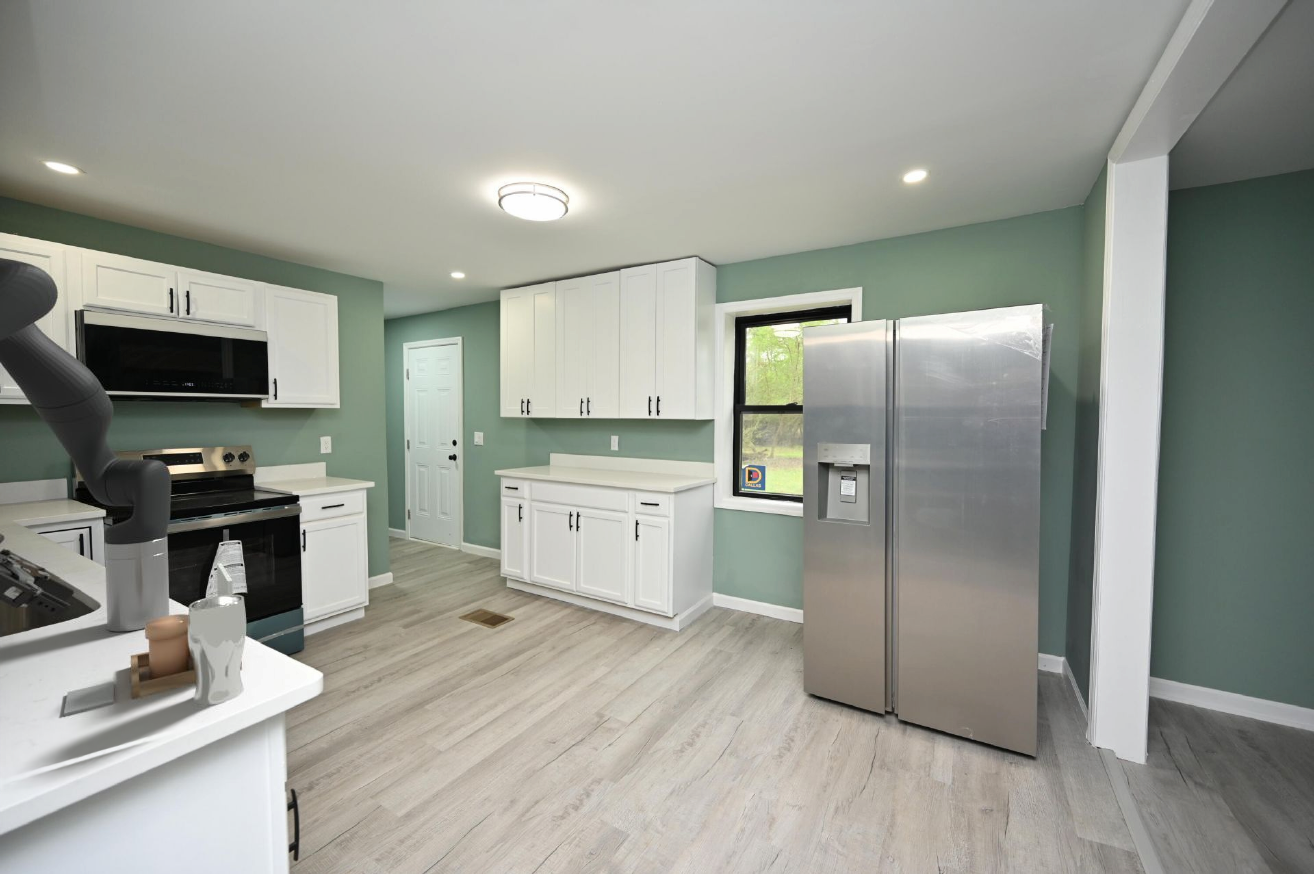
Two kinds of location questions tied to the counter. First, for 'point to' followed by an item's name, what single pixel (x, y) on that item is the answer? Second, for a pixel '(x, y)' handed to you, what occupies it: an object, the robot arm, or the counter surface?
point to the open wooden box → (157, 684)
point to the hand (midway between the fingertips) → (66, 604)
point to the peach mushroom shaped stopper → (168, 645)
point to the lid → (223, 581)
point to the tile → (89, 698)
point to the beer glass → (217, 647)
